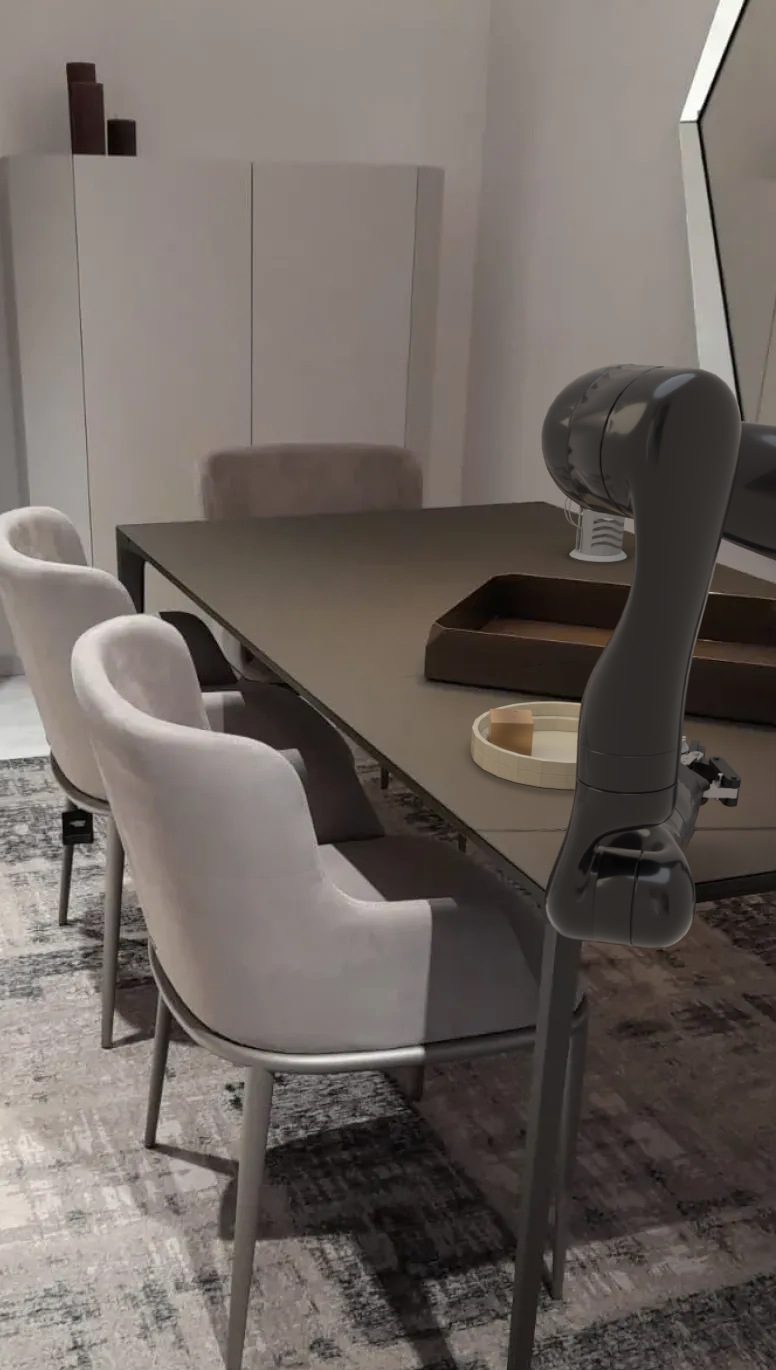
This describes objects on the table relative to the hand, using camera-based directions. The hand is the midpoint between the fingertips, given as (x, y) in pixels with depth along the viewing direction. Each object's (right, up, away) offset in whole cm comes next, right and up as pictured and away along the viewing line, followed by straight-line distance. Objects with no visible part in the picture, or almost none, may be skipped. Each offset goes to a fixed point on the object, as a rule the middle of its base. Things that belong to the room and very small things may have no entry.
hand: (672, 747), depth 127 cm
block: (-11, +2, +23) cm, 25 cm away
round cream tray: (-6, +1, +22) cm, 23 cm away
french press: (+18, +44, +109) cm, 119 cm away
